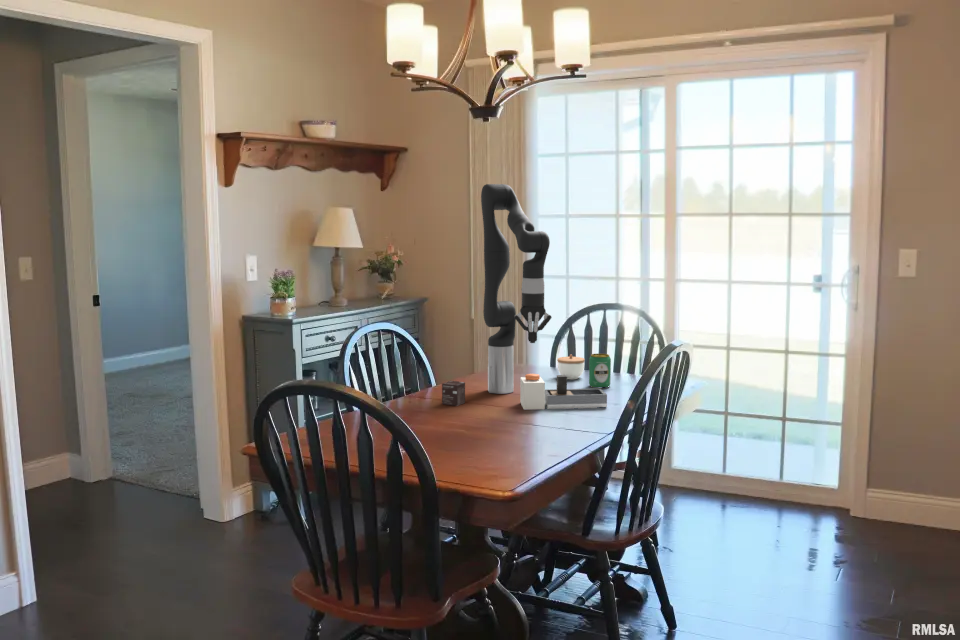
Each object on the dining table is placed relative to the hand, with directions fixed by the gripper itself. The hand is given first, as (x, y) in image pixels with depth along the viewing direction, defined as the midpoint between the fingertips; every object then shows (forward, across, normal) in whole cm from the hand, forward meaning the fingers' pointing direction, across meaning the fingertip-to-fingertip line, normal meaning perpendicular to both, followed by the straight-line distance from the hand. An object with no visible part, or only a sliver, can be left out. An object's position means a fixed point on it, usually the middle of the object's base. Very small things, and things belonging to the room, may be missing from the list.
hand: (532, 342), depth 277 cm
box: (+22, -26, +6) cm, 35 cm away
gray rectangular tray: (+22, +15, 0) cm, 26 cm away
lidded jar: (+22, +22, +47) cm, 56 cm away
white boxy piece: (+22, 0, 0) cm, 22 cm away
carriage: (+20, +10, 0) cm, 22 cm away
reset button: (+16, 0, 0) cm, 16 cm away
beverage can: (+22, +30, +30) cm, 47 cm away
